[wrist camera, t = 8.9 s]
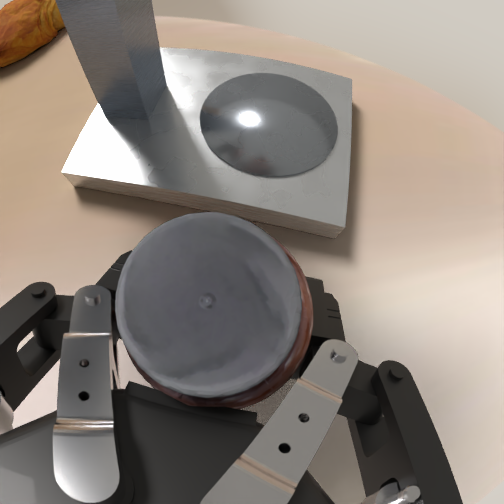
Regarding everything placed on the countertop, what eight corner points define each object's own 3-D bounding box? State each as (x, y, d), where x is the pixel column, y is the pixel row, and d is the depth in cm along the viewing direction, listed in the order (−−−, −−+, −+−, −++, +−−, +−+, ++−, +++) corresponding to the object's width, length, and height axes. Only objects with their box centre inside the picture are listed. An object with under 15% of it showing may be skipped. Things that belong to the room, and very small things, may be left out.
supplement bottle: (222, 253, 18) (213, 126, 7) (298, 324, 17) (401, 291, 6) (149, 325, 17) (33, 293, 6) (224, 399, 16) (215, 492, 5)
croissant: (22, 33, 28) (2, 2, 21) (97, -2, 27) (79, -42, 20) (-23, 93, 24) (-51, 60, 16) (52, 53, 23) (22, 5, 15)
